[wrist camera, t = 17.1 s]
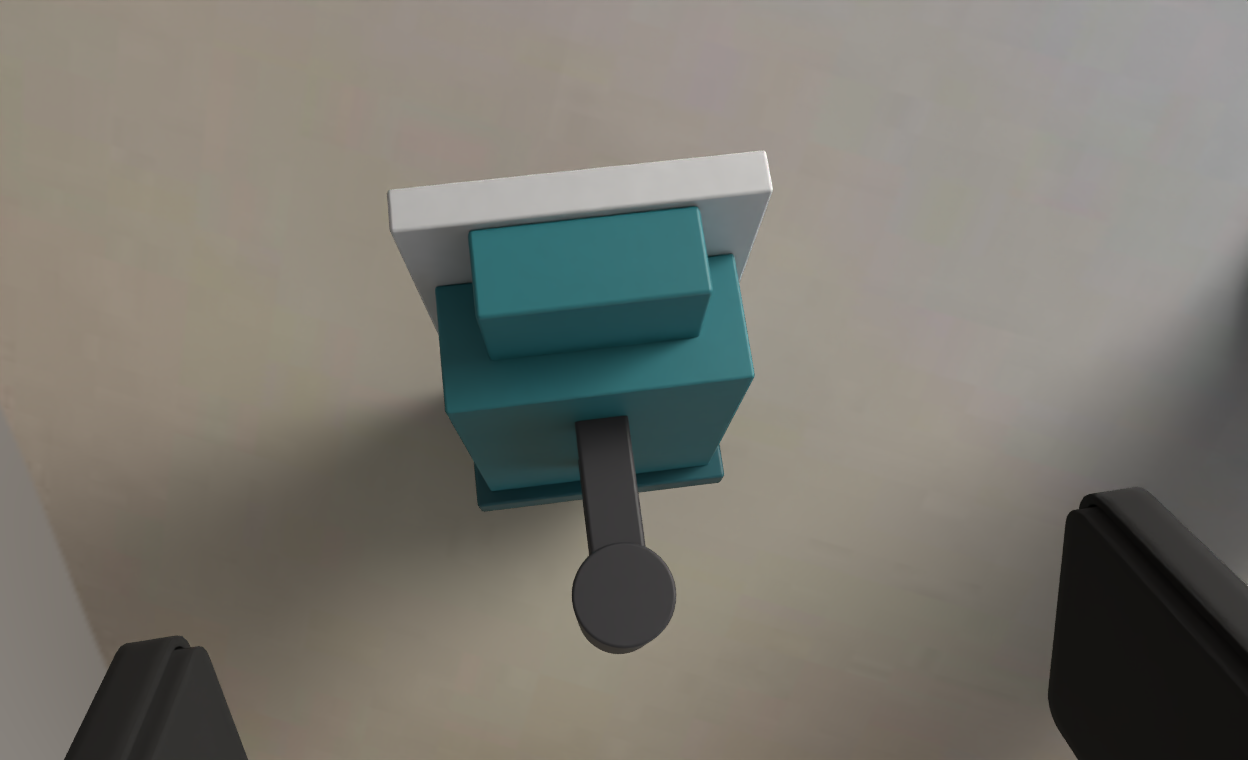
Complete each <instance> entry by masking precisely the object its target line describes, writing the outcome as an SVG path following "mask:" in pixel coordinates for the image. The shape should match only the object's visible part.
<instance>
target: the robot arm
mask: <svg viewBox="0 0 1248 760" xmlns="http://www.w3.org/2000/svg"><path fill="white" fill-rule="evenodd" d="M1048 701H1049V707H1050V711H1051V714H1052V717H1053V720H1054V722H1055V724H1056V726H1057V728H1058V730H1059V731H1060V733H1061V734H1062V736H1063V737H1064V739H1065V740H1066V742H1067V743H1068V745H1069V747H1070V748H1071V750H1072V751H1073V753H1074V754H1075V756H1076V757H1077V759H1078V760H1248V586H1247V585H1246V584H1245V583H1244V582H1242V581H1241V580H1240V579H1239V578H1238V577H1237V576H1236V575H1235V574H1234V573H1233V572H1232V571H1231V570H1230V569H1229V568H1228V567H1227V566H1226V565H1225V564H1224V563H1223V562H1222V561H1220V560H1219V559H1218V558H1217V557H1216V556H1215V555H1214V554H1213V553H1212V552H1211V551H1210V550H1209V549H1208V548H1207V547H1206V546H1205V545H1204V544H1203V543H1202V542H1201V541H1200V540H1199V539H1197V538H1196V537H1195V536H1194V535H1193V534H1192V533H1191V532H1190V531H1189V530H1188V529H1187V528H1186V527H1185V526H1184V525H1183V524H1182V523H1181V522H1180V521H1179V520H1178V519H1177V518H1176V517H1174V516H1173V515H1172V514H1171V513H1170V512H1169V511H1168V510H1167V509H1166V508H1165V507H1164V506H1163V505H1162V504H1161V503H1160V502H1159V501H1158V500H1157V499H1156V498H1155V497H1154V496H1153V495H1151V494H1150V493H1149V492H1148V491H1146V490H1145V489H1143V488H1140V487H1132V488H1126V489H1120V490H1113V491H1107V492H1100V493H1094V494H1089V495H1087V496H1085V497H1084V498H1083V499H1082V501H1081V503H1080V507H1079V509H1078V510H1073V511H1071V512H1070V513H1069V514H1068V516H1067V519H1066V525H1065V535H1064V544H1063V554H1062V563H1061V573H1060V583H1059V592H1058V602H1057V611H1056V621H1055V631H1054V640H1053V650H1052V659H1051V669H1050V679H1049V688H1048ZM64 760H248V758H247V756H246V753H245V750H244V748H243V745H242V742H241V740H240V737H239V734H238V732H237V729H236V726H235V724H234V721H233V719H232V716H231V713H230V711H229V708H228V705H227V703H226V700H225V697H224V695H223V692H222V689H221V687H220V684H219V681H218V679H217V676H216V673H215V671H214V668H213V665H212V663H211V660H210V657H209V655H208V653H207V651H206V650H205V649H204V648H203V647H200V646H198V647H190V645H189V643H188V641H187V640H186V639H185V638H184V637H183V636H171V637H165V638H158V639H152V640H145V641H139V642H132V643H126V644H124V645H123V646H121V647H120V648H119V650H118V651H117V653H116V654H115V656H114V658H113V660H112V662H111V664H110V666H109V669H108V671H107V673H106V675H105V677H104V679H103V681H102V683H101V685H100V687H99V689H98V691H97V693H96V695H95V697H94V699H93V701H92V703H91V705H90V708H89V710H88V712H87V714H86V716H85V718H84V720H83V722H82V724H81V726H80V728H79V730H78V732H77V734H76V736H75V738H74V740H73V742H72V744H71V747H70V749H69V751H68V753H67V755H66V757H65V759H64Z"/></svg>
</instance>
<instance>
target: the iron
mask: <svg viewBox="0 0 1248 760" xmlns="http://www.w3.org/2000/svg"><path fill="white" fill-rule="evenodd" d="M772 191H773V187H772V181H771V176H770V171H769V165H768V160H767V154H766V153H765V151H753V152H743V153H734V154H724V155H715V156H705V157H695V158H686V159H676V160H667V161H657V162H648V163H638V164H629V165H619V166H610V167H600V168H591V169H581V170H572V171H562V172H553V173H543V174H534V175H524V176H515V177H505V178H496V179H486V180H477V181H467V182H458V183H448V184H439V185H429V186H420V187H410V188H401V189H391V190H389V191H388V193H387V199H388V213H389V227H390V232H391V234H392V236H393V238H394V240H395V243H396V245H397V247H398V249H399V251H400V253H401V256H402V258H403V260H404V262H405V264H406V266H407V268H408V271H409V273H410V275H411V277H412V279H413V281H414V283H415V286H416V288H417V290H418V292H419V294H420V296H421V298H422V301H423V303H424V305H425V307H426V309H427V311H428V314H429V316H430V318H431V320H432V322H433V324H434V326H435V329H436V331H437V333H438V335H439V344H440V356H441V367H442V379H443V391H444V403H445V412H446V414H447V415H448V417H449V419H450V421H451V422H452V424H453V426H454V428H455V429H456V431H457V433H458V435H459V436H460V438H461V440H462V442H463V443H464V445H465V447H466V448H467V450H468V452H469V454H470V455H471V457H472V459H473V461H474V469H475V480H476V491H477V502H478V506H479V508H480V509H481V510H482V511H484V512H485V511H493V510H501V509H510V508H518V507H526V506H534V505H542V504H550V503H558V502H566V501H574V500H582V499H583V507H584V516H585V524H586V532H587V541H588V549H589V556H588V557H587V558H586V560H585V561H584V562H583V563H582V565H581V566H580V568H579V569H578V571H577V573H576V576H575V579H574V582H573V587H572V603H573V609H574V612H575V615H576V618H577V621H578V623H579V626H580V628H581V631H582V633H583V634H584V636H585V637H586V638H587V640H588V641H589V642H590V643H591V644H593V645H594V646H595V647H597V648H598V649H600V650H602V651H605V652H608V653H613V654H625V653H630V652H633V651H635V650H637V649H639V648H641V647H643V646H644V645H646V644H647V643H649V642H650V641H652V640H653V639H654V638H656V637H657V636H658V635H659V634H660V633H661V632H662V631H663V630H664V629H665V628H666V626H667V625H668V623H669V621H670V619H671V617H672V615H673V612H674V609H675V604H676V587H675V582H674V579H673V576H672V574H671V572H670V570H669V568H668V566H667V565H666V563H665V562H664V561H663V560H662V559H661V557H659V556H658V555H657V554H656V553H655V552H653V551H652V550H650V549H648V548H646V547H645V539H644V532H643V524H642V517H641V509H640V502H639V495H638V492H646V491H655V490H663V489H671V488H679V487H687V486H695V485H703V484H711V483H718V482H720V481H721V480H722V478H723V476H724V470H723V464H722V458H721V451H720V445H719V443H720V441H721V439H722V437H723V436H724V434H725V432H726V430H727V428H728V426H729V424H730V422H731V420H732V418H733V416H734V415H735V413H736V411H737V409H738V407H739V405H740V403H741V401H742V399H743V397H744V395H745V394H746V392H747V390H748V388H749V386H750V384H751V382H752V380H753V378H754V375H755V374H754V368H753V362H752V356H751V351H750V345H749V339H748V333H747V327H746V321H745V315H744V309H743V304H742V298H741V292H740V286H739V283H740V280H741V277H742V274H743V272H744V269H745V266H746V263H747V260H748V258H749V255H750V252H751V249H752V247H753V244H754V241H755V238H756V236H757V233H758V230H759V227H760V224H761V222H762V219H763V216H764V213H765V211H766V208H767V205H768V202H769V199H770V197H771V194H772Z"/></svg>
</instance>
